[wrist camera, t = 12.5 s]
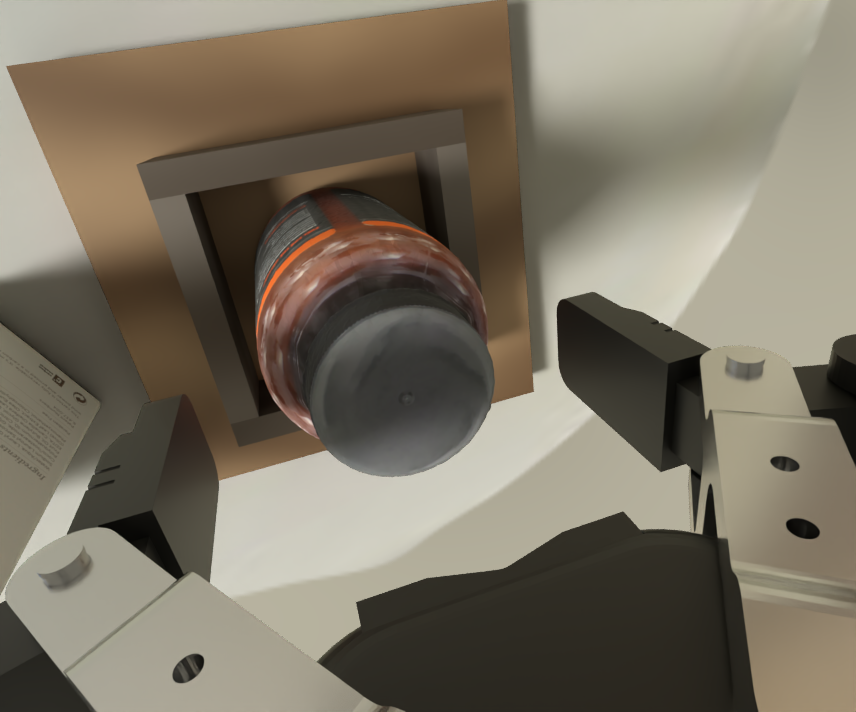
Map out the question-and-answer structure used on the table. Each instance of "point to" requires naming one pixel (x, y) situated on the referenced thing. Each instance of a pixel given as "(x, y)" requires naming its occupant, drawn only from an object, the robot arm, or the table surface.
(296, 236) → the supplement bottle
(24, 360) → the skincare box
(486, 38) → the cup holder
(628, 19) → the table surface
